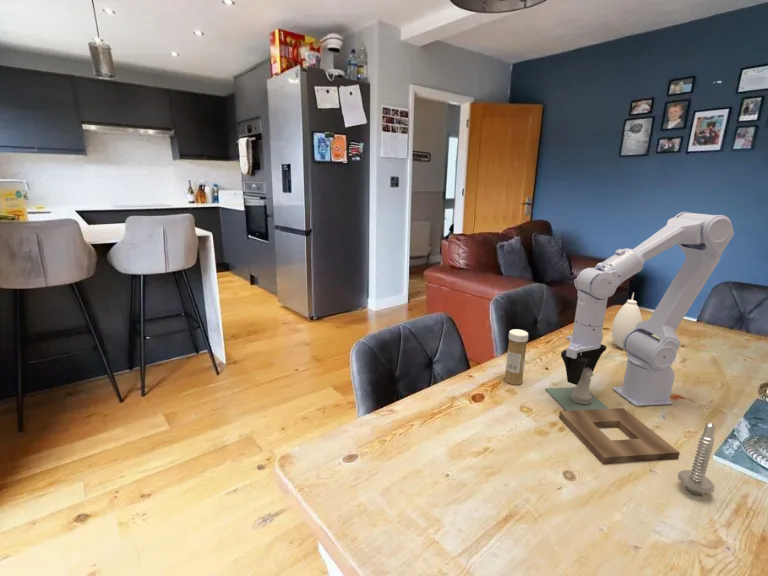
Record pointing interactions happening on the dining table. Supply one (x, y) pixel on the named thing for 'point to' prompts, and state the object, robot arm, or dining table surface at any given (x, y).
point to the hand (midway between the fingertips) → (579, 377)
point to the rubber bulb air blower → (625, 321)
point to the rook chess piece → (583, 388)
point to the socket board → (635, 449)
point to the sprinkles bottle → (516, 356)
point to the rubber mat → (568, 404)
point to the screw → (700, 465)
